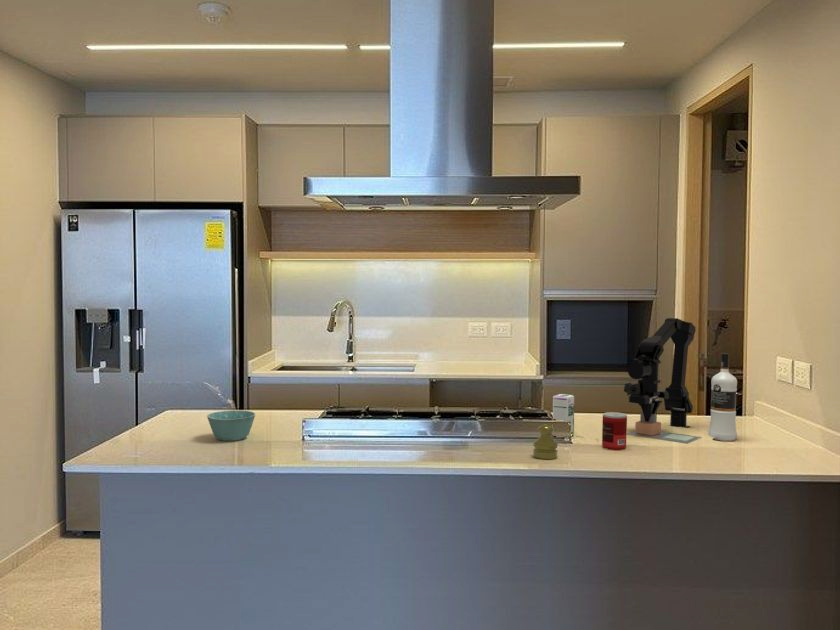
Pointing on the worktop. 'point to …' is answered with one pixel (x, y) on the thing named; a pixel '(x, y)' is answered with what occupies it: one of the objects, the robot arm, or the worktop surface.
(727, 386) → the vodka
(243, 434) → the bowl
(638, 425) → the salmon orange block
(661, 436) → the base
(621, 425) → the canned food
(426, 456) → the worktop surface
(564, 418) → the syrup box
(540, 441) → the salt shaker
